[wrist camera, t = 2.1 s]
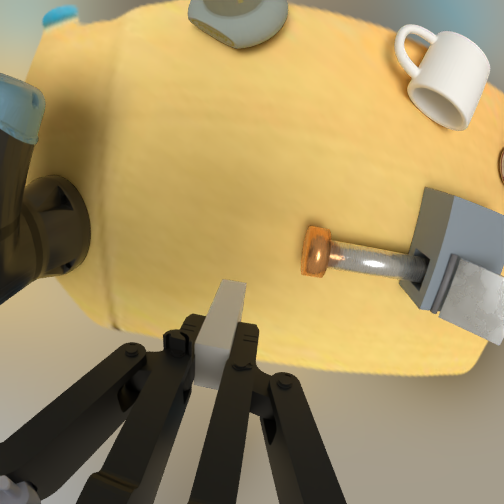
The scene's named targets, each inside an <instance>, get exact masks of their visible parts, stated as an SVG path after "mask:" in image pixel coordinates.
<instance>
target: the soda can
mask: <svg viewBox="0 0 504 504" xmlns="http://www.w3.org/2000/svg"><path fill="white" fill-rule="evenodd" d="M500 173H501V177H502V180H503V183H504V150H503V152H502V154H501V158H500Z"/></svg>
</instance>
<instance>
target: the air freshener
mask: <svg viewBox="0 0 504 504" xmlns="http://www.w3.org/2000/svg"><path fill="white" fill-rule="evenodd" d="M287 15H288V3H287V0H191V2H190V4H189V8H188V19H189V21H190V22H191V23H193V24H194V25H195V26H197V27H198V28H199V29H201V30H202V31H204V32H205V33H207V34H209V35H210V36H212V37H214V38H215V39H217V40H219V41H221V42H222V43H224V44H226V45H228V46H231V47H233V48H246V47H251V46H254V45H257V44H260V43H262V42H264V41H266V40H268V39H269V38H271V37H272V36H274V35H275V34H276V33H277V32H278V31H279V30H280V29H281V27H282V26H283V25H284V23H285V21H286V19H287Z"/></svg>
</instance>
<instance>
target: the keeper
mask: <svg viewBox="0 0 504 504" xmlns="http://www.w3.org/2000/svg"><path fill="white" fill-rule="evenodd" d="M438 317H439V318H442V319H444V320H446V321H448V322H450V323H452V324H455V325H457V326H459V327H461V328H463V329H465V330H467V331H469V332H472V333H474V334H476V335H478V336H480V337H482V338H484V339H486V340H488V341H491V342H493V343H495V344H497V345H500V343H501V342H502V339H503V338H504V276H502V275H500V274H498V273H496V272H494V271H491V270H489V269H487V268H485V267H482V266H480V265H478V264H475V263H473V262H471V261H468V260H466V259H464V258H460V261H459V265H458V267H457V270H456V273H455V276H454V279H453V282H452V284H451V287H450V289H449V292H448V295H447V297H446V300H445V302H444V304H443V307H442V309H441V311H440V314H439V316H438Z"/></svg>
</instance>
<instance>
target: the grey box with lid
mask: <svg viewBox="0 0 504 504" xmlns="http://www.w3.org/2000/svg"><path fill="white" fill-rule="evenodd" d="M408 255H413V256H418V257H423V258H428V259H430V262H429V266H428V269H427V272H426V274H425V277H424V280H423V283H419V282H412V281H406V280H400V282H399V284H400V286H401V287H402V288H403V289H404V290H405V292H406V293H407V294H408V295H409V297H410V298H411V299H412V300H413V302H414V303H415V304H416V305H417V307H418V308H419V309H422V310H430V311H431V312H432V313H434V314H437V311H441V309H442V307H443V304H444V302H445V300H446V297H447V295H448V292H449V289H450V287H451V284H452V282H453V279H454V276H455V273H456V270H457V267H458V265H459V261H460V258H464V259H466V260H468V261H471V262H473V263H475V264H478V265H480V266H482V267H485V268H487V269H489V270H491V271H494V272H496V273H498V274H501V271H502V269H503V266H504V215H502V214H500V213H497V212H495V211H493V210H490V209H488V208H485V207H483V206H480V205H478V204H475V203H473V202H470V201H468V200H465V199H462V198H459V197H457V196H454V195H451V194H448V193H444V192H441V191H438V190H434V189H431V188H427V187H425V189H424V194H423V199H422V203H421V208H420V212H419V216H418V220H417V224H416V228H415V232H414V236H413V239H412V243H411V247H410V250H409V253H408Z"/></svg>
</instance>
